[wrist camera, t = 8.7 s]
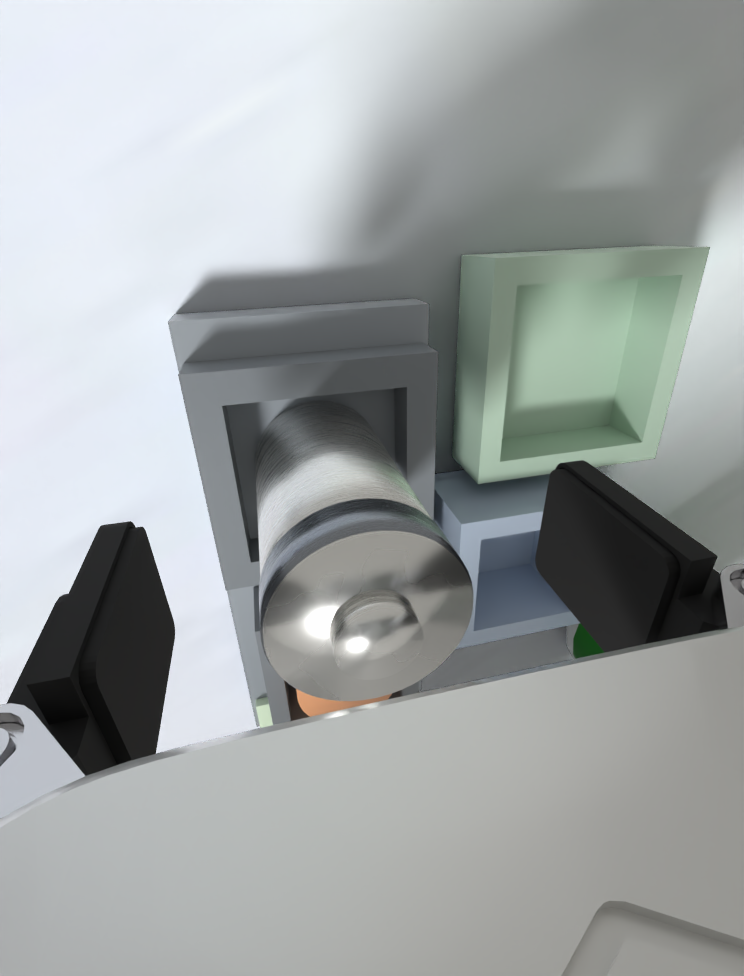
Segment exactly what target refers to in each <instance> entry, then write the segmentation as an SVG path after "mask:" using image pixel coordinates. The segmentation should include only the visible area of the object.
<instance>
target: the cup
mask: <svg viewBox="0 0 744 976" xmlns="http://www.w3.org/2000/svg"><path fill="white" fill-rule="evenodd" d="M549 476H550V474H545V475H538V476H531V477H524V478H517V479H510V480H503V481H496V482H490V483H483V484H477V482H476V481H475V480H474V479H473V478H472V477H471V476H470V475H469V474H468V473H467V472H466V471H465V470H460V471H453V472H446V473H439V474H435V483H434V517H433V521H434V522H435V523H436V524H437V525H438V526H439V528H440V529H441V530H442V531H443V533H444V534H445V536H446V537H447V539H448V540H449V542H450V543H451V545H452V546H453V548H454V549H455V551H456V552H457V554H458V555H459V557H460V558H461V560H462V561H463V563H464V565H465V566H466V568H467V570H468V572H469V575H470V578H471V581H472V586H473V609H472V616H471V619H470V622H469V625H468V628H467V630H466V632H465V634H464V636H463V638H462V640H461V641H460V643H459V645H458V646H457V647H456V649H460V648H465V647H470V646H474V645H479V644H484V643H489V642H493V641H498V640H503V639H508V638H512V637H517V636H522V635H527V634H531V633H536V632H541V631H546V630H550V629H555V628H560V627H564V626H569V625H574V624H579V623H580V622H579V621H578V620H577V618H576V617H575V616H574V615H573V613H572V612H571V611H570V610H569V609H568V607H567V606H566V605H565V604H564V602H563V601H562V600H561V599H560V598H559V596H558V595H557V594H556V593H555V592H554V590H553V589H552V588H551V587H550V585H549V584H548V583H547V582H546V581H545V579H544V578H543V577H542V576H541V575H540V573H539V572H538V570H537V568H536V563H535V556H536V551H537V545H538V539H539V533H540V528H541V522H542V516H543V510H544V505H545V499H546V493H547V487H548V482H549Z"/></svg>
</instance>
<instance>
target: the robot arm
mask: <svg viewBox="0 0 744 976" xmlns="http://www.w3.org/2000/svg"><path fill="white" fill-rule="evenodd" d="M716 559H717V556H716V555H715V554H714V553H712V552H711V551H709V550H708V549H707V548H705V547H704V546H703V545H701V544H700V543H698V542H697V541H696V540H694V539H693V538H691V537H690V536H689V535H687V534H686V533H685V532H683V531H682V530H680V529H679V528H678V527H676V526H675V525H673V524H672V523H671V522H669V521H668V520H667V519H665V518H664V517H662V516H661V515H660V514H658V513H657V512H655V511H654V510H653V509H651V508H650V507H649V506H647V505H646V504H644V503H643V502H642V501H640V500H639V499H638V498H636V497H635V496H633V495H632V494H631V493H629V492H628V491H626V490H625V489H624V488H622V487H621V486H620V485H618V484H617V483H615V482H614V481H613V480H611V479H610V478H608V477H607V476H606V475H604V474H603V473H602V472H600V471H599V470H597V469H596V468H595V467H593V466H592V465H590V464H589V463H588V462H586V461H584V460H579V461H572V462H565V463H560V464H558V465H557V467H556V469H555V470H553V471H552V472H551V473H550V476H549V482H548V487H547V493H546V499H545V505H544V510H543V516H542V522H541V528H540V533H539V539H538V545H537V551H536V556H535V563H536V568H537V570H538V572H539V573H540V575H541V576H542V577H543V578H544V579H545V581H546V582H547V583H548V584H549V585H550V587H551V588H552V589H553V590H554V592H555V593H556V594H557V595H558V596H559V598H560V599H561V600H562V601H563V602H564V604H565V605H566V606H567V607H568V609H569V610H570V611H571V612H572V613H573V615H574V616H575V617H576V618H577V620H578V621H579V622H580V623H581V624H582V626H583V627H584V628H585V629H586V630H587V632H588V633H589V634H590V635H591V637H592V638H593V639H594V640H595V641H596V643H597V644H598V645H599V646H600V647H601V649H602V650H603V651H604V652H605V653H601V654H596V655H591V656H587V657H582V658H577V659H572V660H568V661H563V662H558V663H553V664H549V665H544V666H539V667H535V668H530V669H525V670H521V671H516V672H512V673H507V674H502V675H498V676H493V677H488V678H484V679H479V680H475V681H470V682H465V683H461V684H456V685H452V686H447V687H443V688H438V689H433V690H429V691H424V692H420V693H415V694H410V695H406V696H401V697H397V698H392V699H388V700H383V701H379V702H374V703H370V704H365V705H361V706H356V707H352V708H347V709H343V710H338V711H334V712H330V713H325V714H321V715H316V716H312V717H307V718H303V719H298V720H294V721H289V722H285V723H280V724H276V725H271V726H267V727H263V728H258V729H254V730H250V731H246V732H242V733H237V734H233V735H229V736H225V737H221V738H216V739H212V740H208V741H204V742H200V743H196V744H192V745H187V746H183V747H179V748H175V749H172V750H168V751H164V752H161V753H157V754H156V748H157V742H158V736H159V730H160V724H161V718H162V712H163V706H164V700H165V694H166V687H167V681H168V675H169V669H170V663H171V657H172V651H173V645H174V639H175V627H174V621H173V618H172V614H171V611H170V608H169V605H168V602H167V598H166V595H165V592H164V589H163V585H162V582H161V579H160V576H159V573H158V569H157V566H156V563H155V560H154V556H153V553H152V550H151V547H150V543H149V540H148V537H147V534H146V531H145V529H144V528H143V527H137V528H135V525H134V524H133V523H132V522H131V521H130V522H123V523H116V524H108V525H102V526H100V528H99V530H98V532H97V534H96V536H95V538H94V540H93V542H92V545H91V547H90V549H89V551H88V553H87V555H86V558H85V560H84V562H83V564H82V566H81V568H80V570H79V573H78V575H77V577H76V579H75V581H74V583H73V586H72V588H71V590H70V592H69V594H64V595H62V596H61V597H59V599H58V600H57V602H56V603H55V605H54V607H53V609H52V611H51V614H50V616H49V618H48V620H47V622H46V624H45V626H44V628H43V630H42V632H41V634H40V636H39V638H38V640H37V642H36V644H35V646H34V648H33V650H32V653H31V655H30V657H29V659H28V661H27V663H26V665H25V667H24V669H23V671H22V673H21V675H20V677H19V679H18V681H17V683H16V685H15V687H14V690H13V692H12V694H11V696H10V698H9V700H8V702H7V704H2V705H0V976H744V564H734V565H730V566H727V567H725V568H724V569H723V570H722V571H721V573H720V574H719V573H718V572H717V571H715V570H714V569H713V566H714V564H715V561H716Z"/></svg>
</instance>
